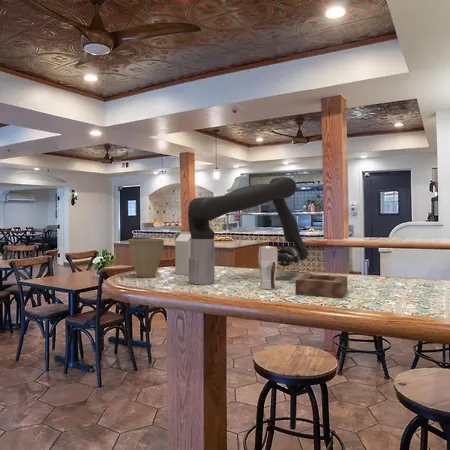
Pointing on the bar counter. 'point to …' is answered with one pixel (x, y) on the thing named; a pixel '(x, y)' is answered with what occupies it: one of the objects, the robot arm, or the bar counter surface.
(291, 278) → the bar counter surface
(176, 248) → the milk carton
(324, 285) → the walnut well block
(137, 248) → the plant pot
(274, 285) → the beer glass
